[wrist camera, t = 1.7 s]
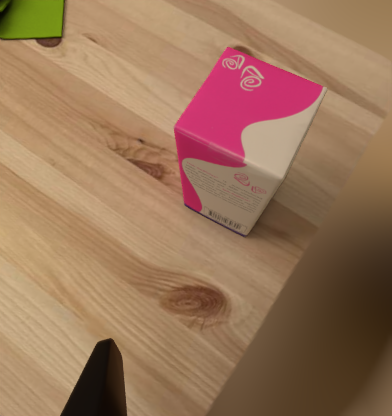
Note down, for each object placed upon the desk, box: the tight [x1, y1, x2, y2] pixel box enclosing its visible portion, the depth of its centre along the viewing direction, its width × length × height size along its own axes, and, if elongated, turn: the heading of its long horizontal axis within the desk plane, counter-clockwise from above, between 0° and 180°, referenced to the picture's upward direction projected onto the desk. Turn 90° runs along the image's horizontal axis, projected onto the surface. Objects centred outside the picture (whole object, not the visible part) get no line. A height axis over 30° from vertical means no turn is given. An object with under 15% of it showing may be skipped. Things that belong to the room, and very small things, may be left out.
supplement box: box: [174, 47, 327, 237], centre depth 20 cm, size 6×6×12 cm
